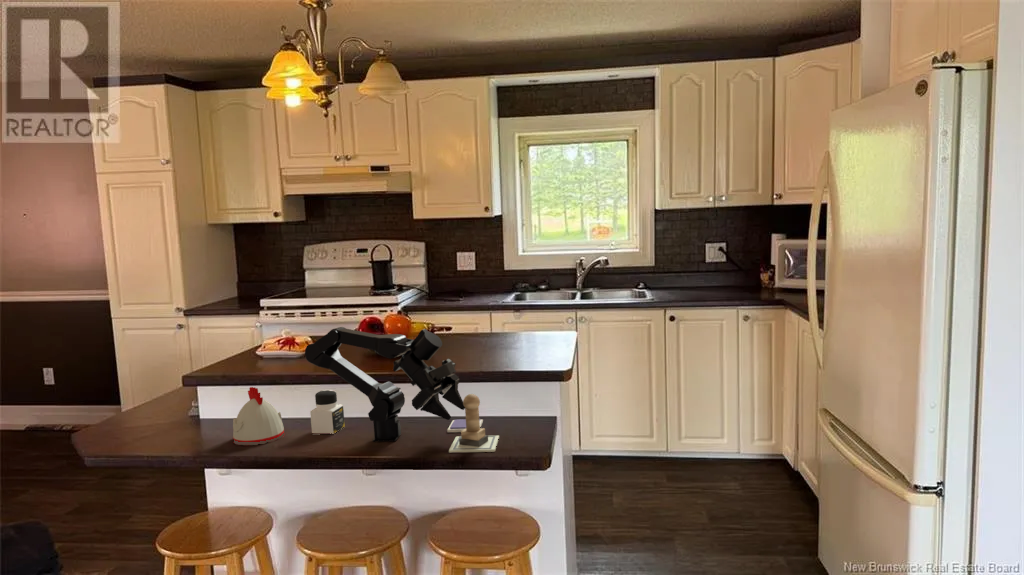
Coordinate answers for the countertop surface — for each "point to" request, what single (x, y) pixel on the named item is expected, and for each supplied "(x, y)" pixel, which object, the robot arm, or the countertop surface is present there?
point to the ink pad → (459, 425)
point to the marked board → (486, 447)
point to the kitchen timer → (257, 420)
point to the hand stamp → (472, 423)
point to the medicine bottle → (327, 413)
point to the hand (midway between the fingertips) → (457, 413)
